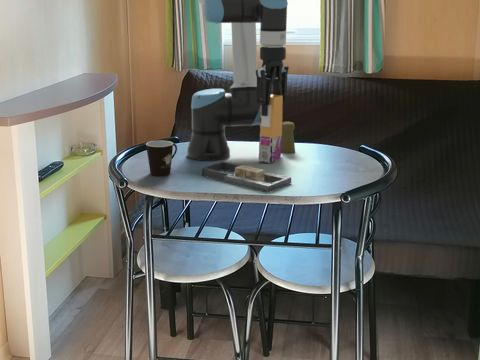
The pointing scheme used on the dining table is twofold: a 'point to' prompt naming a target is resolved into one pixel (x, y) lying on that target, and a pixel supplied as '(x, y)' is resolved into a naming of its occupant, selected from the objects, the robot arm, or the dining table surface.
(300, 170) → the dining table surface
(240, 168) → the beige cube
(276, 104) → the orange rectangular block
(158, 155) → the coffee mug
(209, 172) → the frame
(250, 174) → the tan wooden cube
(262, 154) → the candy bar box
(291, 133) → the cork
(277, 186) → the grey flat rectangular tray
